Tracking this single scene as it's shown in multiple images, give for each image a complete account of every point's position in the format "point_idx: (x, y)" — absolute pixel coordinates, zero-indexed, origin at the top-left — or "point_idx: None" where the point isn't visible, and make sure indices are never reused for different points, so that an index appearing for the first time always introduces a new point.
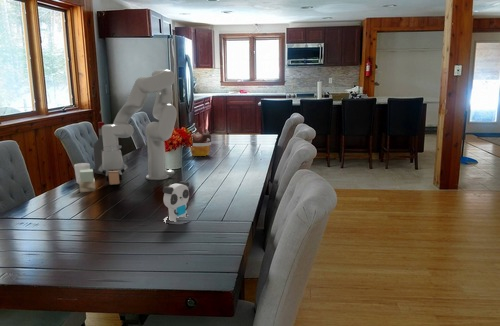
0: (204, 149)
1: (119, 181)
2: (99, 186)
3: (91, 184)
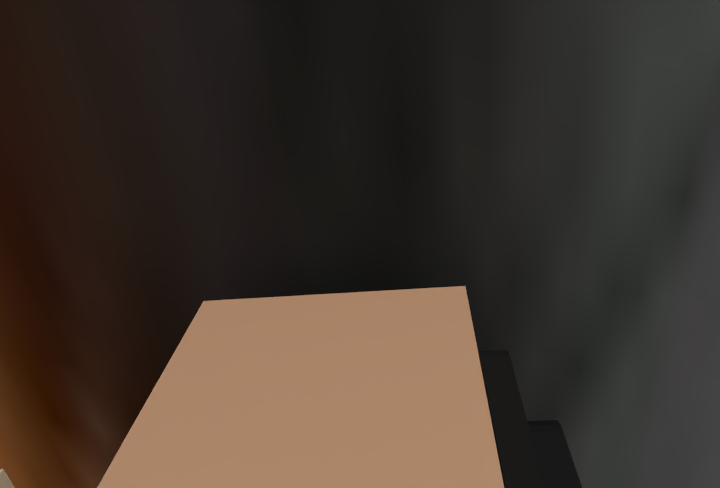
0: None
1: None
2: (55, 425)
3: None
